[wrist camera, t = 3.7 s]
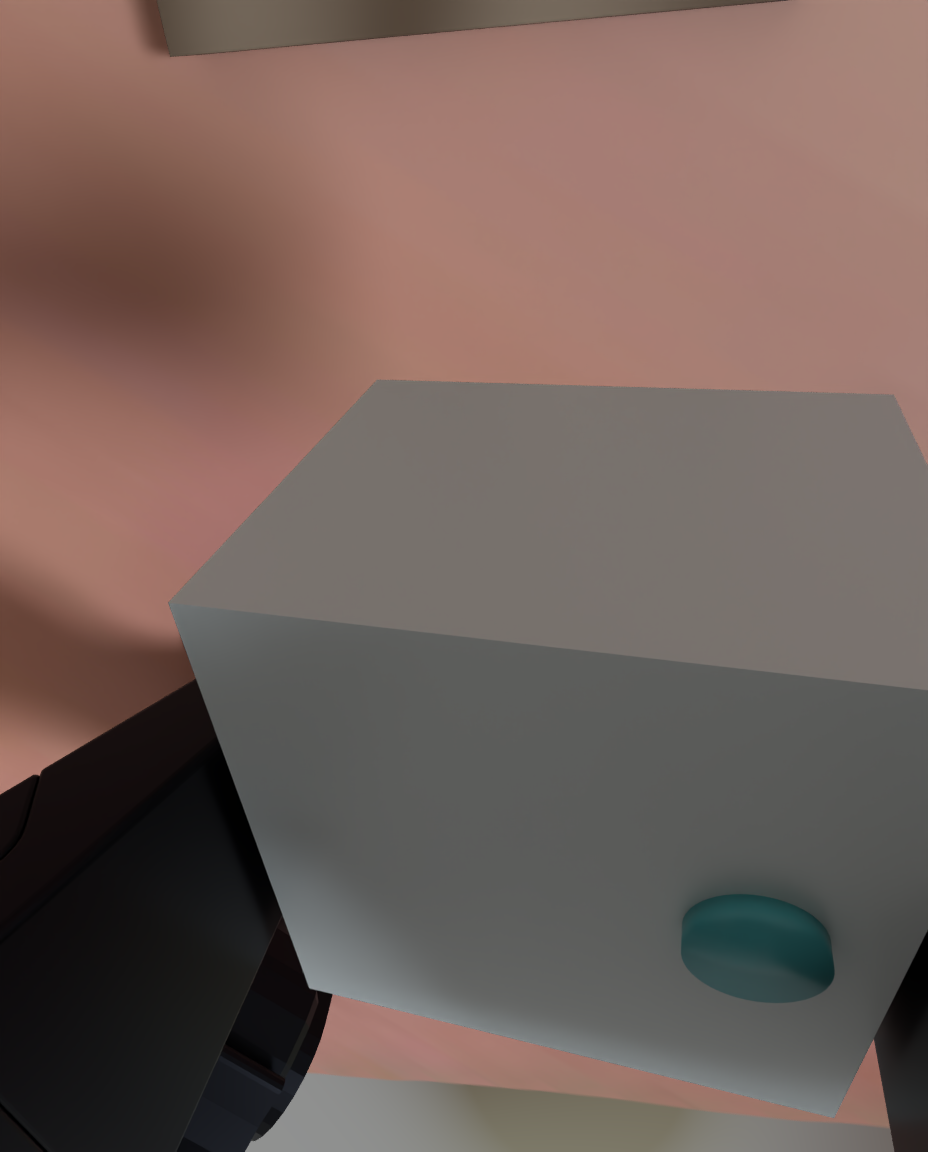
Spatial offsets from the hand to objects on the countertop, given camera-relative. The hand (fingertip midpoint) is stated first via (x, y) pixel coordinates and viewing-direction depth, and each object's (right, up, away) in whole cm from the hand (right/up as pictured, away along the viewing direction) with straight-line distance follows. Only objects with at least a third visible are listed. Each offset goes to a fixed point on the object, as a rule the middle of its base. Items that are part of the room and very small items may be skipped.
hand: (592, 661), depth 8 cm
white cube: (0, +1, +1) cm, 1 cm away
